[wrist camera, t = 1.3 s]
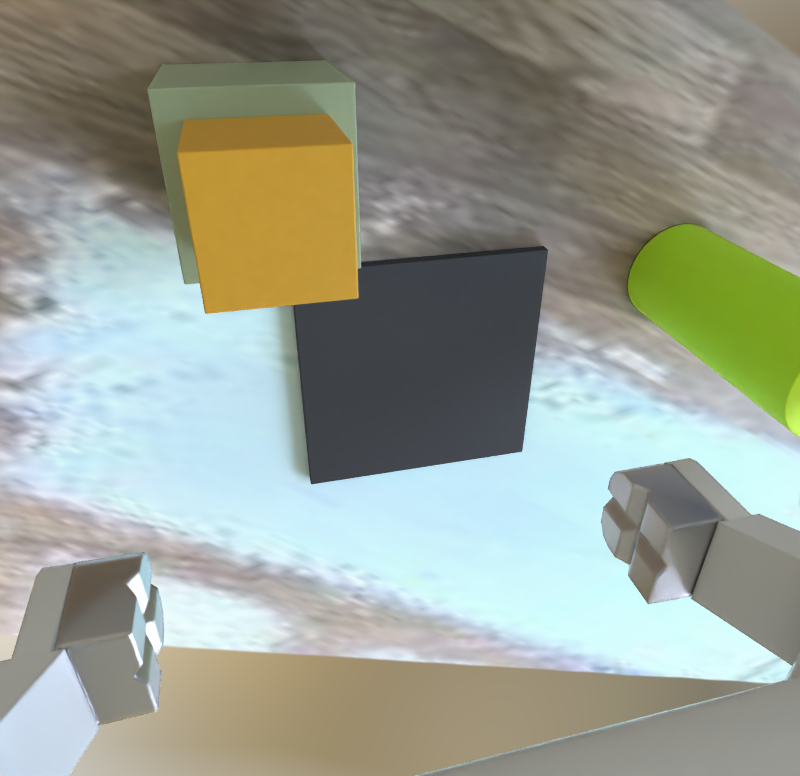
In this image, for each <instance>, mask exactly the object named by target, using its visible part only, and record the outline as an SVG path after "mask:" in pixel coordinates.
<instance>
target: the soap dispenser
mask: <svg viewBox="0 0 800 776" xmlns="http://www.w3.org/2000/svg"><path fill="white" fill-rule="evenodd" d="M628 293H629V297H630V299H631V302H632V303H633V305H634V306H635V307H636V309H637V310H639V311H640V312H641V313H642V314H644V315H645V316H646V317H647V318H649V319H650V320H651V321H652V322H654V323H655V324H656V325H657V326H659V327H660V328H661V329H663V330H664V331H665V332H666V333H668V334H669V335H670V336H671V337H673V338H674V339H675V340H676V341H678V342H679V343H680V344H681V345H683V346H684V347H685V348H686V349H688V350H689V351H690V352H691V353H693V354H694V355H695V356H697V357H698V358H699V359H700V360H702V361H703V362H704V363H705V364H707V365H708V366H709V367H710V368H712V369H713V370H714V371H715V372H717V373H718V374H719V375H720V376H722V377H723V378H724V379H725V380H727V381H728V382H729V383H731V384H732V385H733V386H734V387H736V388H737V389H738V390H739V391H741V392H742V393H743V394H744V395H746V396H747V397H748V398H749V399H751V400H752V401H753V402H754V403H756V404H757V405H758V406H759V407H761V408H762V409H763V410H764V411H766V412H767V413H768V414H770V415H771V416H772V417H773V418H775V419H776V420H777V421H778V422H780V423H781V424H782V425H783V426H785V427H786V428H787V429H788V430H790V431H791V432H792V433H794V434H795V435H797V436H799V437H800V278H799V277H797V276H795V275H794V274H792V273H790V272H788V271H786V270H784V269H782V268H780V267H778V266H776V265H774V264H772V263H770V262H769V261H767V260H765V259H763V258H761V257H759V256H757V255H755V254H753V253H751V252H749V251H747V250H745V249H744V248H742V247H740V246H738V245H736V244H734V243H732V242H730V241H728V240H726V239H724V238H722V237H720V236H718V235H717V234H715V233H713V232H711V231H709V230H707V229H705V228H703V227H701V226H698V225H693V224H683V225H677V226H674V227H671V228H669V229H666V230H664V231H663V232H661V233H659V234H658V235H656V236H655V237H654V238H653V239H651V240H650V241H649V242H648V243H647V244H646V245H645V246H644V248H643V249H642V250H641V251H640V253H639V254H638V256H637V257H636V259H635V261H634V263H633V265H632V268H631V270H630V274H629V279H628Z"/></svg>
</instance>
